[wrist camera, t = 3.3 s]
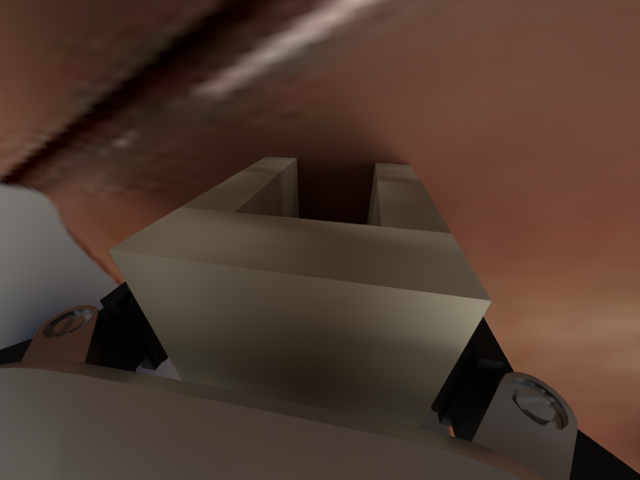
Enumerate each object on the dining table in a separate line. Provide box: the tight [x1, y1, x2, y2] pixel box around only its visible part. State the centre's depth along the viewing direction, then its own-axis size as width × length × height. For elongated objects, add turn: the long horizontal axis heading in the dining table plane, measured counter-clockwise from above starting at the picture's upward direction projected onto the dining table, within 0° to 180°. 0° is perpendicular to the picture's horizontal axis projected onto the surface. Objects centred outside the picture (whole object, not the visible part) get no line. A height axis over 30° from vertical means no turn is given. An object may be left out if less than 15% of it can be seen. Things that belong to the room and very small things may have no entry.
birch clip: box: [108, 156, 492, 428], centre depth 9 cm, size 7×7×8 cm
